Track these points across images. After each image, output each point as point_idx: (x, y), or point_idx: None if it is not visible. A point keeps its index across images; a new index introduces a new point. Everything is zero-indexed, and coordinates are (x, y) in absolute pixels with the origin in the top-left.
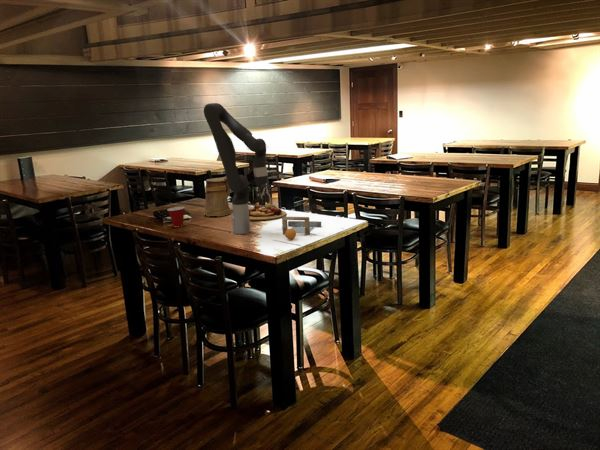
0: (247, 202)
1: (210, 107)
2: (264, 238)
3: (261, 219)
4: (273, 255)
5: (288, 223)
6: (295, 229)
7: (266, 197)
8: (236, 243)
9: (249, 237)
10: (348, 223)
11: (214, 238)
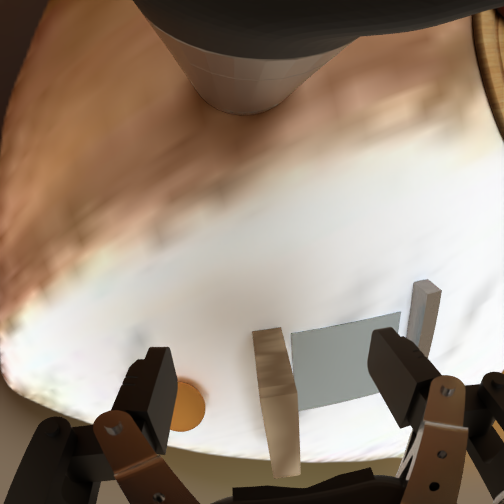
0: (276, 55)
1: None
2: (149, 274)
3: (493, 96)
4: (13, 382)
5: (421, 292)
6: (354, 344)
7: (397, 391)
8: (30, 179)
9: (141, 176)
10: None
11: (87, 5)
